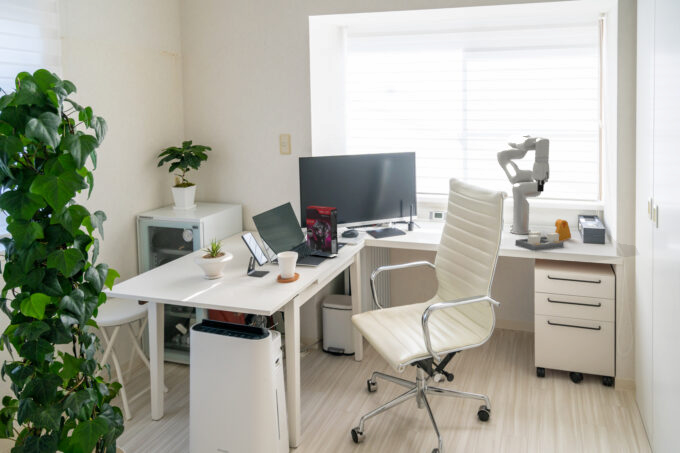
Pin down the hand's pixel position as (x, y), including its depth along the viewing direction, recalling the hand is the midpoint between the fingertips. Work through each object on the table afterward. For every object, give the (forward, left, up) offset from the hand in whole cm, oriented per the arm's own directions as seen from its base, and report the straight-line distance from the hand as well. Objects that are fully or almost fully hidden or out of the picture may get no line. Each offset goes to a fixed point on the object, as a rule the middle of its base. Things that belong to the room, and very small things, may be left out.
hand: (540, 191), depth 364 cm
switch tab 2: (+16, -17, -27) cm, 35 cm away
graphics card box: (-21, -129, -29) cm, 134 cm away
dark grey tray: (+13, -10, -29) cm, 33 cm away
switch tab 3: (+16, -3, -27) cm, 32 cm away
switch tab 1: (+9, -10, -27) cm, 30 cm away
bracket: (+4, +12, -29) cm, 32 cm away
